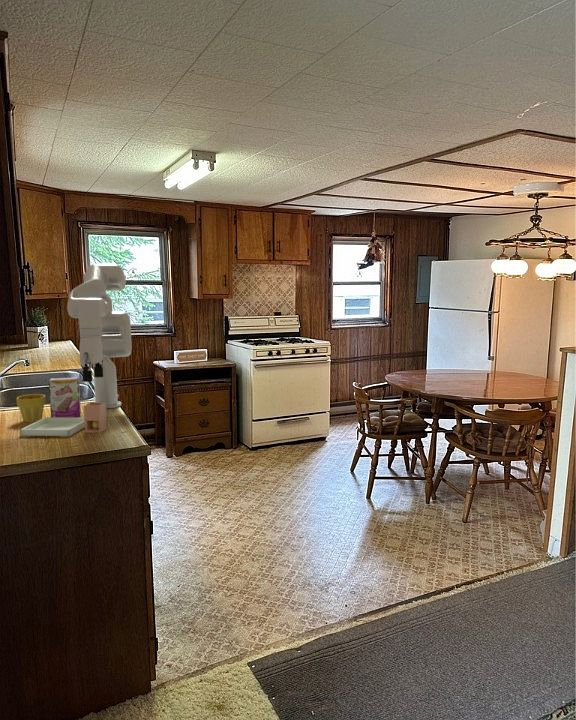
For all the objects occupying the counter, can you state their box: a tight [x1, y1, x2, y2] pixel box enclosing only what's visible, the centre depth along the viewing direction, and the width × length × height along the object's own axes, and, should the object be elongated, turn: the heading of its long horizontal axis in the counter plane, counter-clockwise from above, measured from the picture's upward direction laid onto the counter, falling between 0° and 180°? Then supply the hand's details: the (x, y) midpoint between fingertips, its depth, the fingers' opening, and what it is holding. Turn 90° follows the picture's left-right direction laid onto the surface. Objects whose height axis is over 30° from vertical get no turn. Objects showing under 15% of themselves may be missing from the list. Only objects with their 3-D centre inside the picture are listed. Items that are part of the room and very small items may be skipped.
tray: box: [19, 416, 85, 438], centre depth 194 cm, size 18×18×2 cm
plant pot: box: [16, 393, 47, 423], centre depth 208 cm, size 10×10×10 cm
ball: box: [92, 421, 99, 428], centre depth 193 cm, size 3×3×3 cm
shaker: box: [83, 401, 108, 433], centre depth 193 cm, size 6×6×10 cm
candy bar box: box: [48, 377, 82, 418], centre depth 211 cm, size 11×5×16 cm, turn 108°
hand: (93, 379), depth 191 cm, fingers open, 9 cm apart
